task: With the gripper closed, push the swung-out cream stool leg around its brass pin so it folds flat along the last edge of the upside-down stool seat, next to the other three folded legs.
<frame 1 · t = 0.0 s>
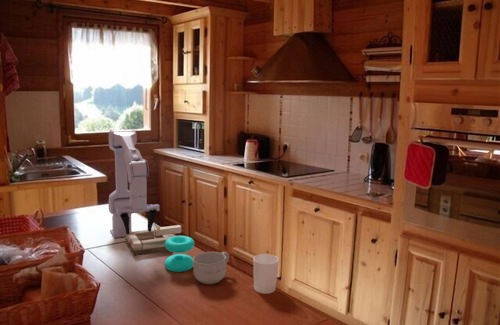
hand: (138, 232, 150), 10 cm above the table, tool pointing down, fingers open, 7 cm apart
teacup: (213, 279, 138), on the table
white cup: (264, 289, 133), on the table
stool seat: (148, 246, 163), on the table
donuts: (179, 267, 146), on the table
hinged leg: (167, 229, 172), point 4 cm above the table, hinge at 90.0°
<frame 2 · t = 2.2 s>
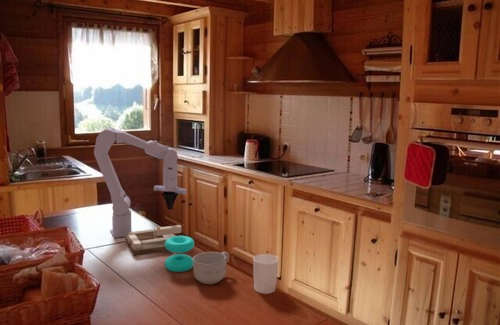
hand: (170, 209, 177), 10 cm above the table, tool pointing down, fingers closed
nothing on the table moved.
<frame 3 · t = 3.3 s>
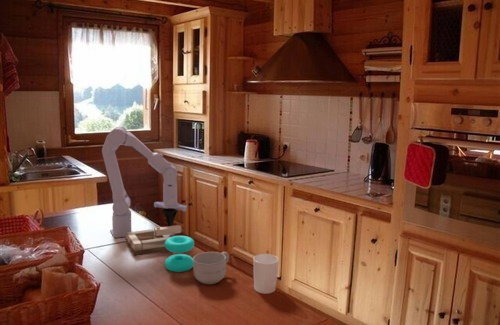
hand: (170, 225, 179), 3 cm above the table, tool pointing down, fingers closed
nothing on the table moved.
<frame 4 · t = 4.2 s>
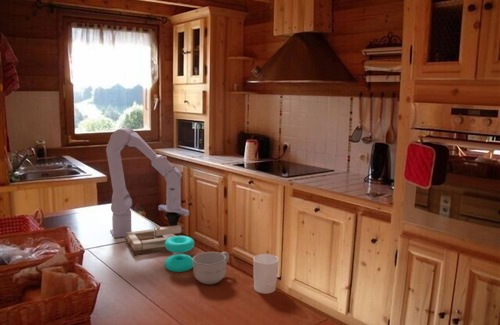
hand: (173, 229, 176), 3 cm above the table, tool pointing down, fingers closed, pressing on hinged leg
hinged leg: (167, 229, 172), point 4 cm above the table, hinge at 90.0°, touching gripper
everything else where it was.
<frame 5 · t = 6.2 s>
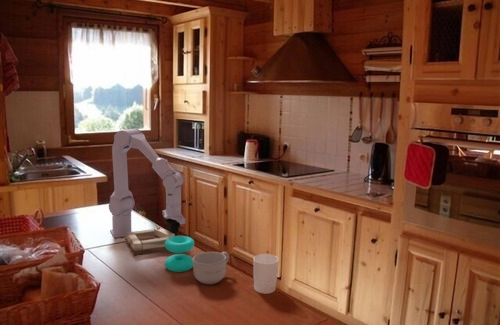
hand: (173, 236, 167), 3 cm above the table, tool pointing down, fingers closed, pressing on hinged leg
hinged leg: (164, 233, 167), point 4 cm above the table, hinge at 18.0°, touching gripper
everything else where it was.
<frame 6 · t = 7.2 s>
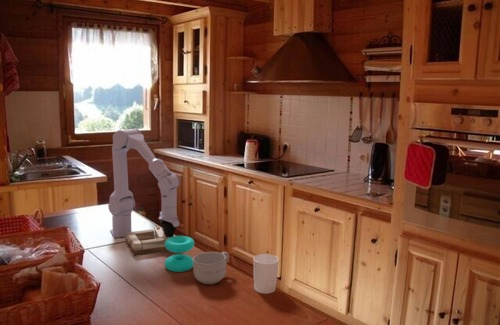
hand: (169, 239, 165), 3 cm above the table, tool pointing down, fingers closed
hinged leg: (160, 234, 166), point 4 cm above the table, hinge at -6.0°, touching gripper
everything else where it was.
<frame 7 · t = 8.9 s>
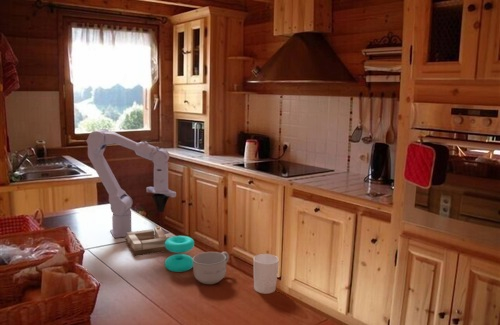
hand: (161, 211, 174), 10 cm above the table, tool pointing down, fingers closed
hinged leg: (160, 234, 166), point 4 cm above the table, hinge at -5.8°
everything else where it was.
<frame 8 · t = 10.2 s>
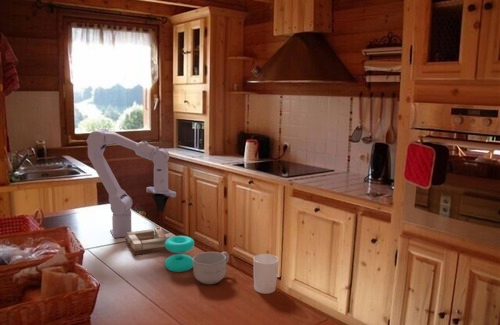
hand: (161, 211, 174), 10 cm above the table, tool pointing down, fingers closed
nothing on the table moved.
at the end: hinged leg at -6° (first picture: +90°) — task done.
